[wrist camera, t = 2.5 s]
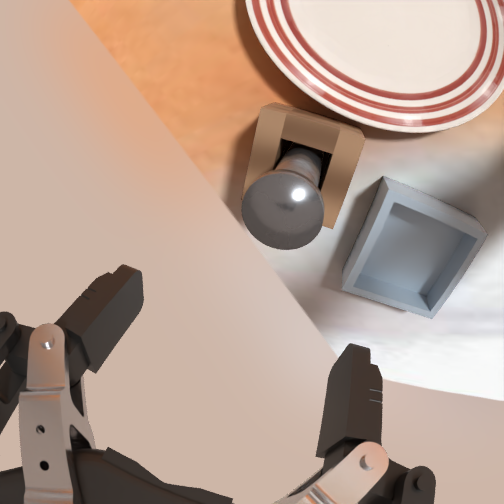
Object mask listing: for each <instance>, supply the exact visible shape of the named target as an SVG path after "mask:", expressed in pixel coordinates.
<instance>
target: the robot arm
mask: <svg viewBox="0 0 504 504" xmlns="http://www.w3.org/2000/svg"><path fill="white" fill-rule="evenodd" d="M143 301H144V296H143V281H142V273H141V271H139V270H137V269H134V268H132V267H129V266H127V265H124V264H123V265H121V266H120V267H119V268H118V269H117V270H116V271H115V272H114V273H113V274H111V273H109V272H108V273H106V274H104V275H102V276H100V277H98V278H96V279H95V280H94V281H93V282H92V283H91V284H90V286H89V287H88V289H86V290H85V291H84V292H83V293H82V294H81V296H79V297H78V298H77V299H76V300H75V302H74V303H73V304H72V305H71V306H70V307H69V308H68V309H67V310H66V312H65V313H64V314H63V315H62V316H61V317H60V318H59V319H58V320H57V321H56V322H55V323H54V324H50V323H47V324H43V325H40V326H39V327H37V328H32V327H29V326H25V325H21V324H18V323H17V321H16V320H15V317H14V316H13V315H12V314H11V313H9V312H0V365H1V364H2V362H3V361H4V360H5V361H6V362H5V363H4V364H3V366H2V367H1V369H0V434H1V432H2V431H3V429H4V427H5V425H6V423H7V422H8V420H9V418H10V416H11V415H12V413H13V411H14V410H15V408H16V406H17V405H18V403H19V429H20V430H19V431H20V446H21V457H22V465H23V466H21V467H18V468H14V469H9V470H6V471H1V472H0V504H234V503H232V500H233V499H232V498H229V497H226V496H222V495H219V494H216V493H213V492H210V491H207V490H204V489H201V488H192V487H185V486H179V485H172V484H167V483H164V482H162V481H161V480H159V479H158V478H157V477H155V476H154V475H153V474H151V473H150V472H149V471H147V470H146V469H145V468H144V467H142V466H141V465H140V464H139V463H137V462H136V461H134V460H132V459H130V458H128V457H126V456H124V455H122V454H120V453H118V452H116V451H115V450H113V449H111V448H109V447H108V448H107V449H106V451H104V450H99V449H96V447H95V441H94V436H93V433H92V430H91V427H90V424H89V421H88V416H87V408H86V399H85V389H84V378H83V374H84V372H85V371H86V369H89V370H90V371H92V372H94V373H97V371H98V370H99V368H100V367H101V366H102V364H103V363H104V361H105V360H106V358H107V357H108V356H109V354H110V353H111V351H112V350H113V348H114V347H115V346H116V344H117V343H118V341H119V340H120V339H121V337H122V336H123V334H124V333H125V332H126V330H127V329H128V328H129V326H130V325H131V323H132V322H133V321H134V319H135V318H136V316H137V315H138V314H139V312H140V311H141V308H142V306H143ZM381 430H382V376H381V373H380V371H379V368H378V366H377V365H374V364H370V349H369V348H366V347H362V346H359V345H355V344H352V343H350V344H349V345H348V346H347V347H346V349H345V350H344V351H343V353H342V354H341V356H340V357H339V358H338V360H337V361H336V363H335V364H334V366H333V367H332V369H331V371H330V374H329V377H328V384H327V391H326V398H325V405H324V411H323V418H322V424H321V430H320V436H319V441H318V447H317V452H316V457H320V458H325V460H324V465H323V467H321V468H320V469H319V470H318V471H317V472H315V473H314V474H313V475H312V476H311V477H309V478H308V479H307V480H306V481H304V482H303V483H302V484H300V485H299V486H298V487H297V488H295V489H294V490H293V491H291V492H290V493H289V494H287V495H286V496H285V497H283V498H281V499H280V500H278V501H276V502H274V503H273V504H357V503H358V504H434V497H435V486H436V480H435V476H434V474H433V472H432V471H431V470H430V469H429V468H427V467H425V466H418V467H415V468H413V469H408V468H406V467H404V466H402V465H400V464H397V463H396V462H394V461H392V460H390V459H389V458H388V455H387V452H386V451H385V449H384V448H383V447H382V445H381V432H382V431H381Z"/></svg>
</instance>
